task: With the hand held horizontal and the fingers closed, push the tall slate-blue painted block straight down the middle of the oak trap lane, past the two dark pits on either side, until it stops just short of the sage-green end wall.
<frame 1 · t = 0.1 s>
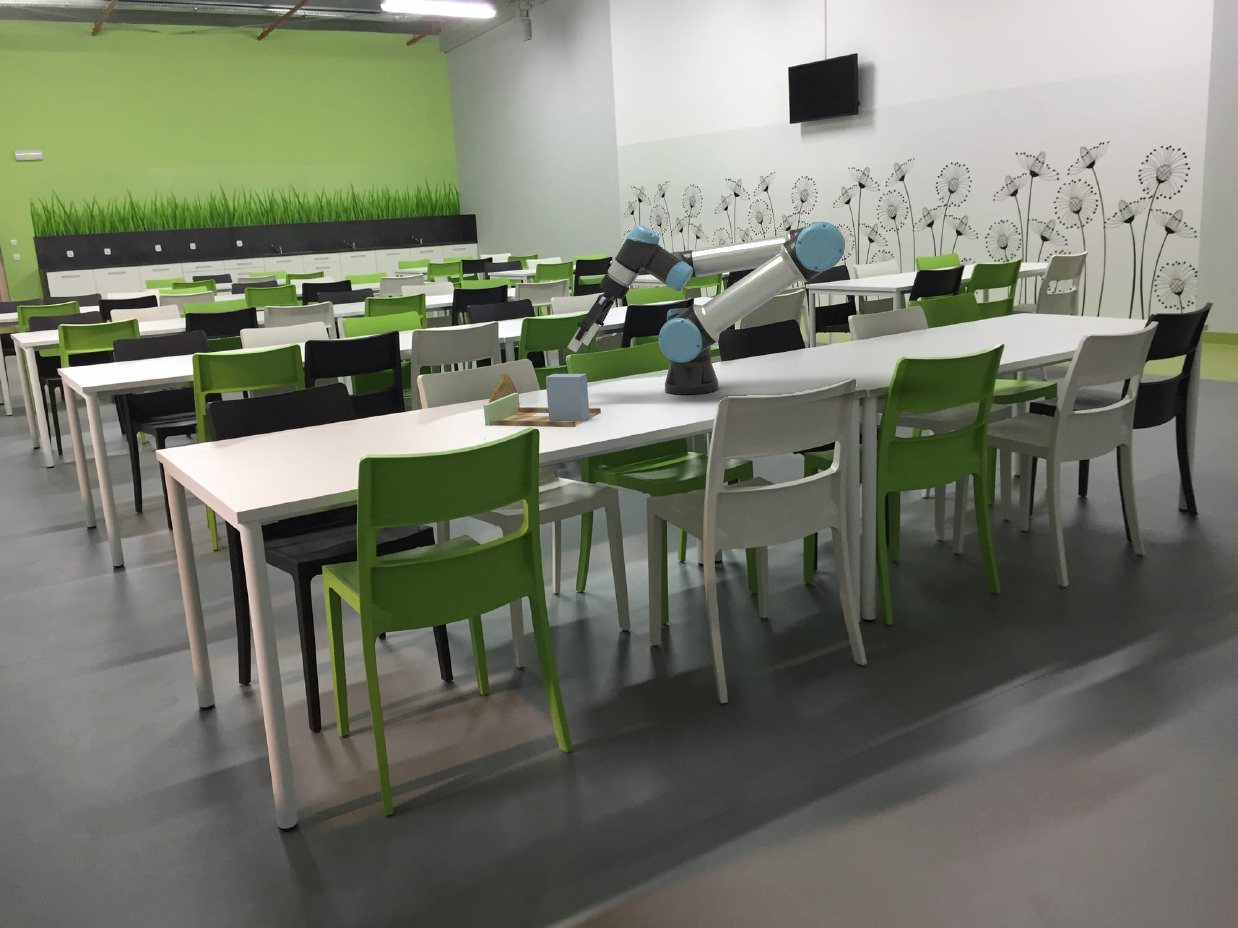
hand: (577, 346, 271), 15 cm above the table, tool tilted 35°, fingers open, 13 cm apart
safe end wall: (503, 422, 254), on the table
rock: (504, 412, 269), on the table
block: (569, 419, 247), point 1 cm above the table, touching trap lane
trap lane: (551, 422, 249), on the table
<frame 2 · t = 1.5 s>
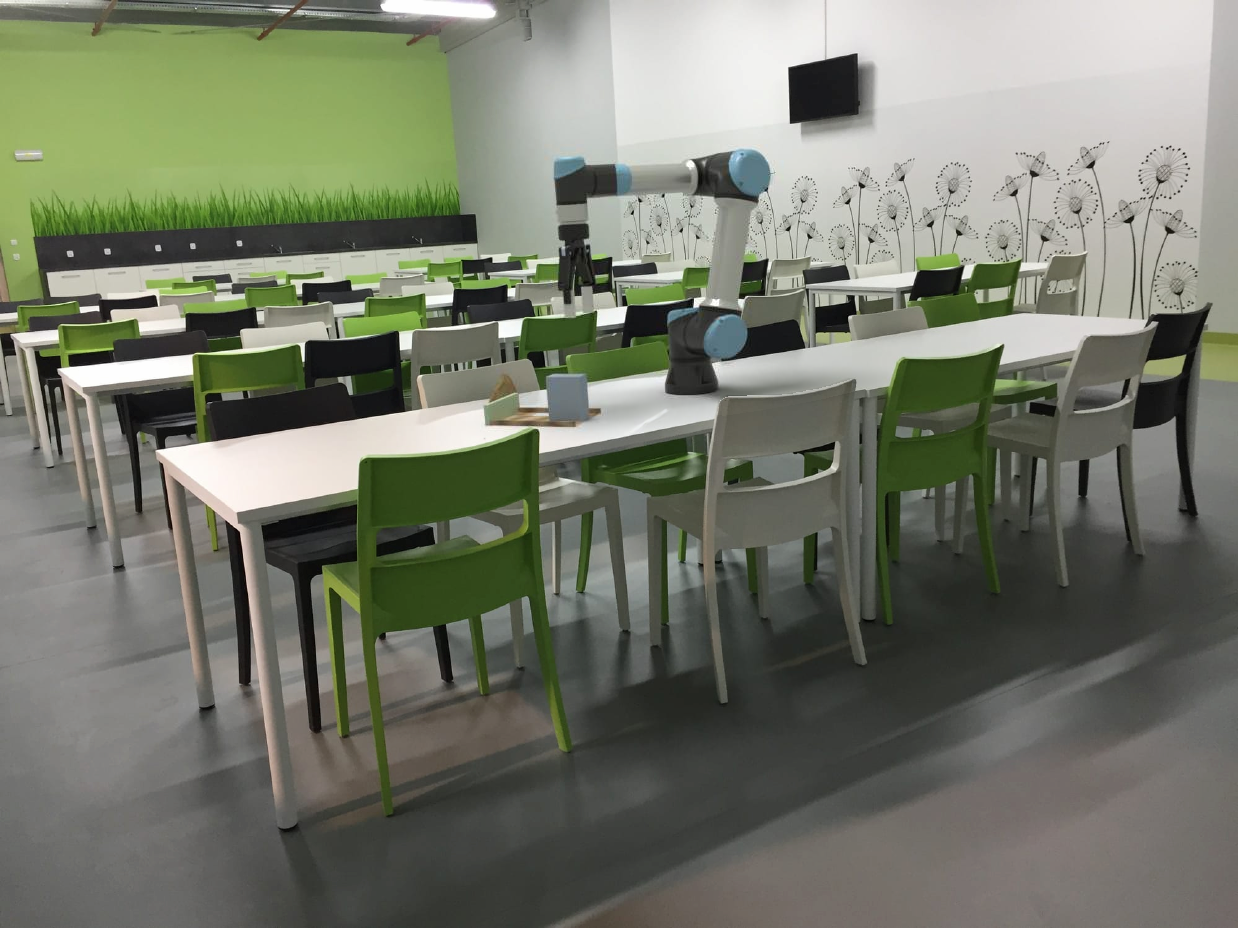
hand: (579, 315, 246), 26 cm above the table, tool pointing down, fingers open, 10 cm apart
nothing on the table moved.
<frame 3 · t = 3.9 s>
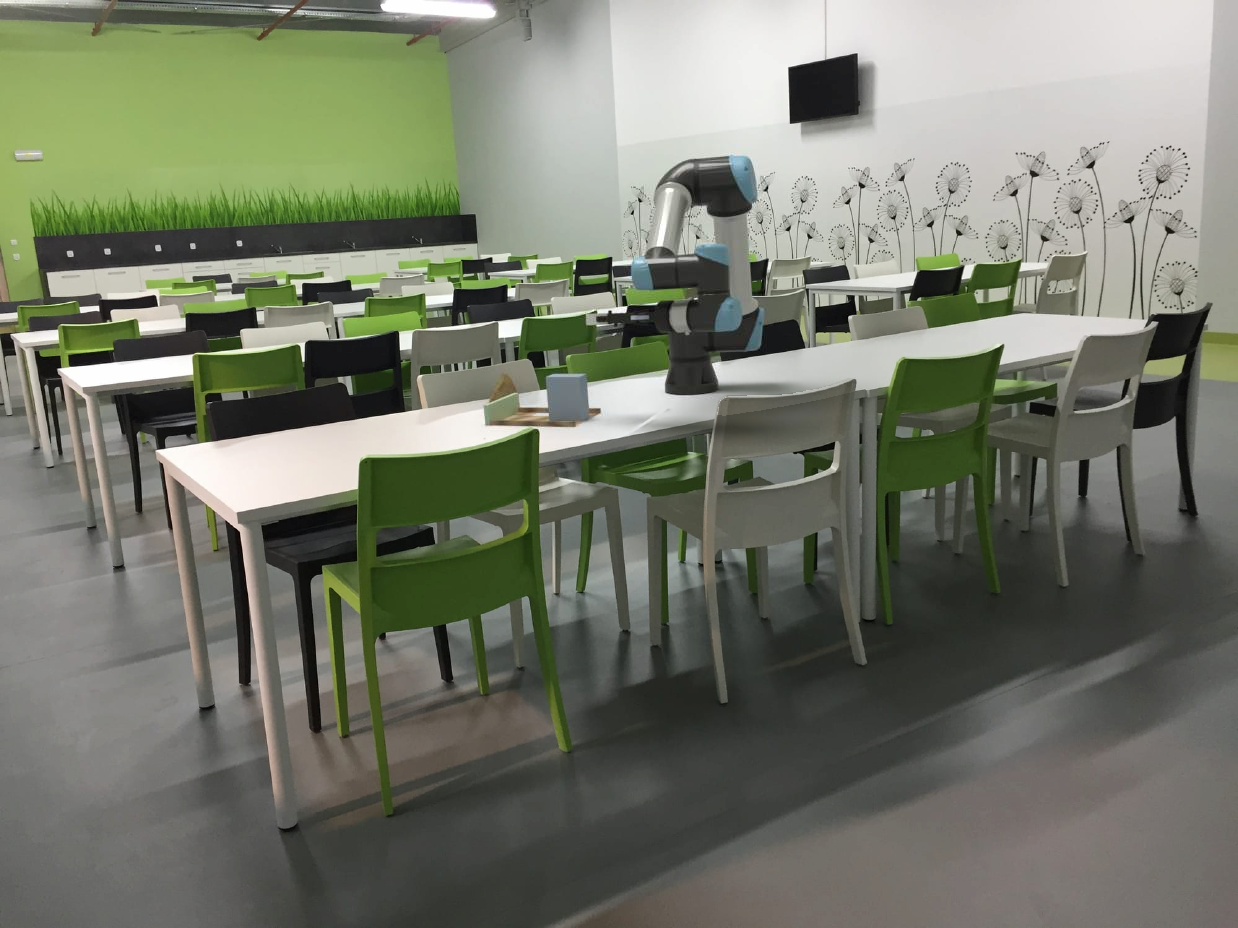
hand: (587, 319, 241), 25 cm above the table, tool horizontal, fingers closed
nothing on the table moved.
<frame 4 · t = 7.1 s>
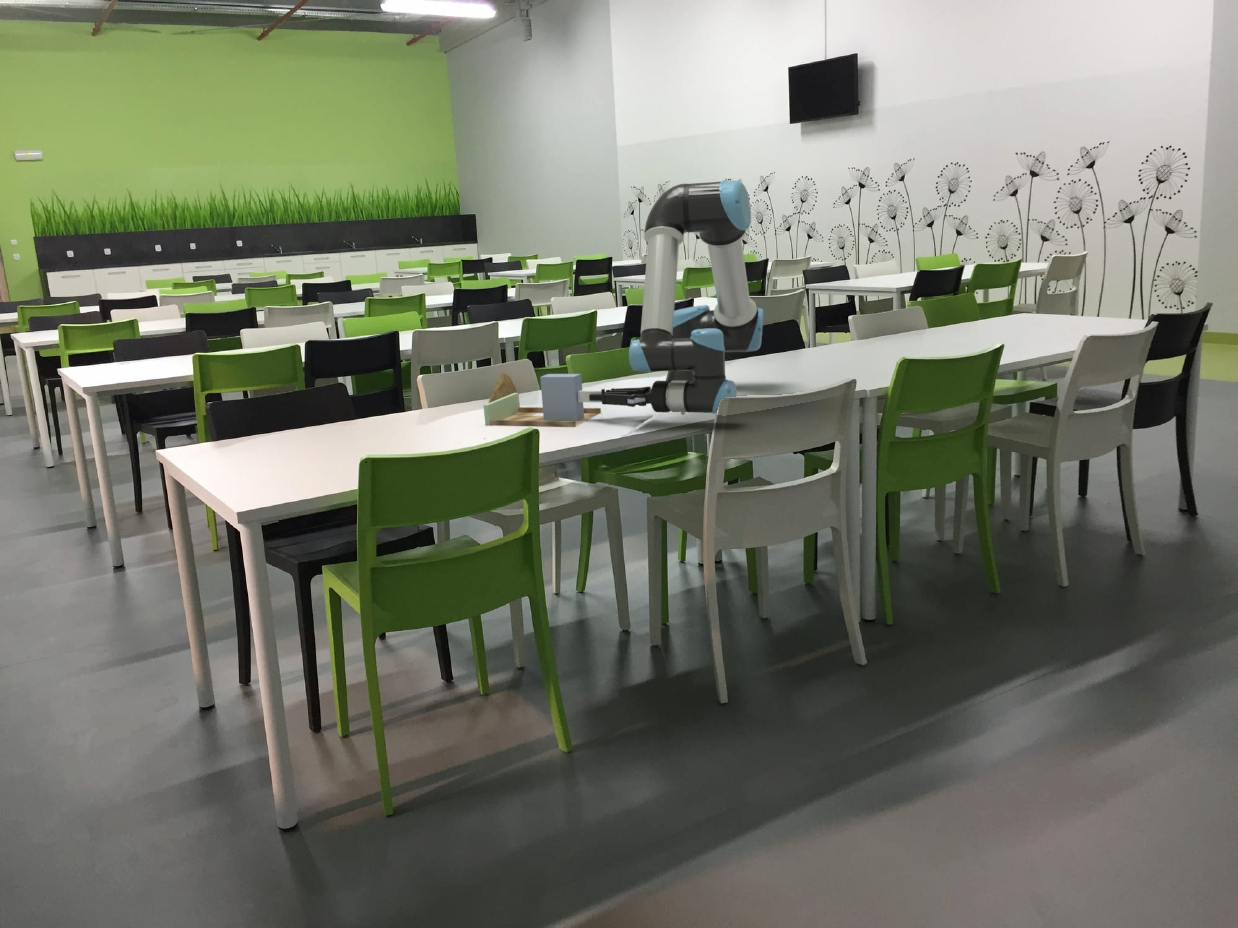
hand: (579, 396, 244), 7 cm above the table, tool horizontal, fingers closed
block: (564, 419, 248), point 1 cm above the table, touching gripper
everything else where it was.
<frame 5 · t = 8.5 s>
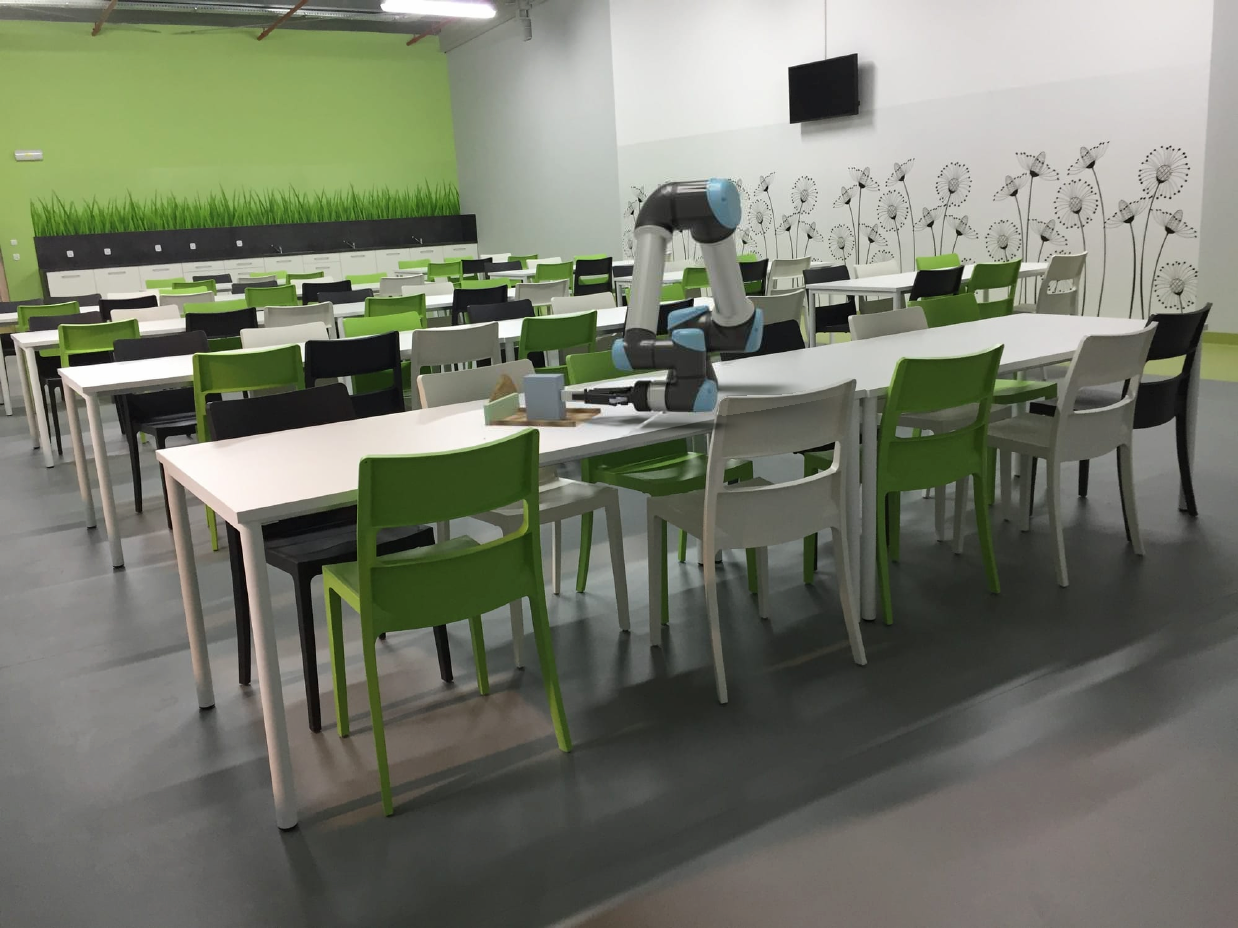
hand: (562, 395, 246), 7 cm above the table, tool horizontal, fingers closed
block: (546, 419, 249), point 1 cm above the table, touching trap lane
everything else where it was.
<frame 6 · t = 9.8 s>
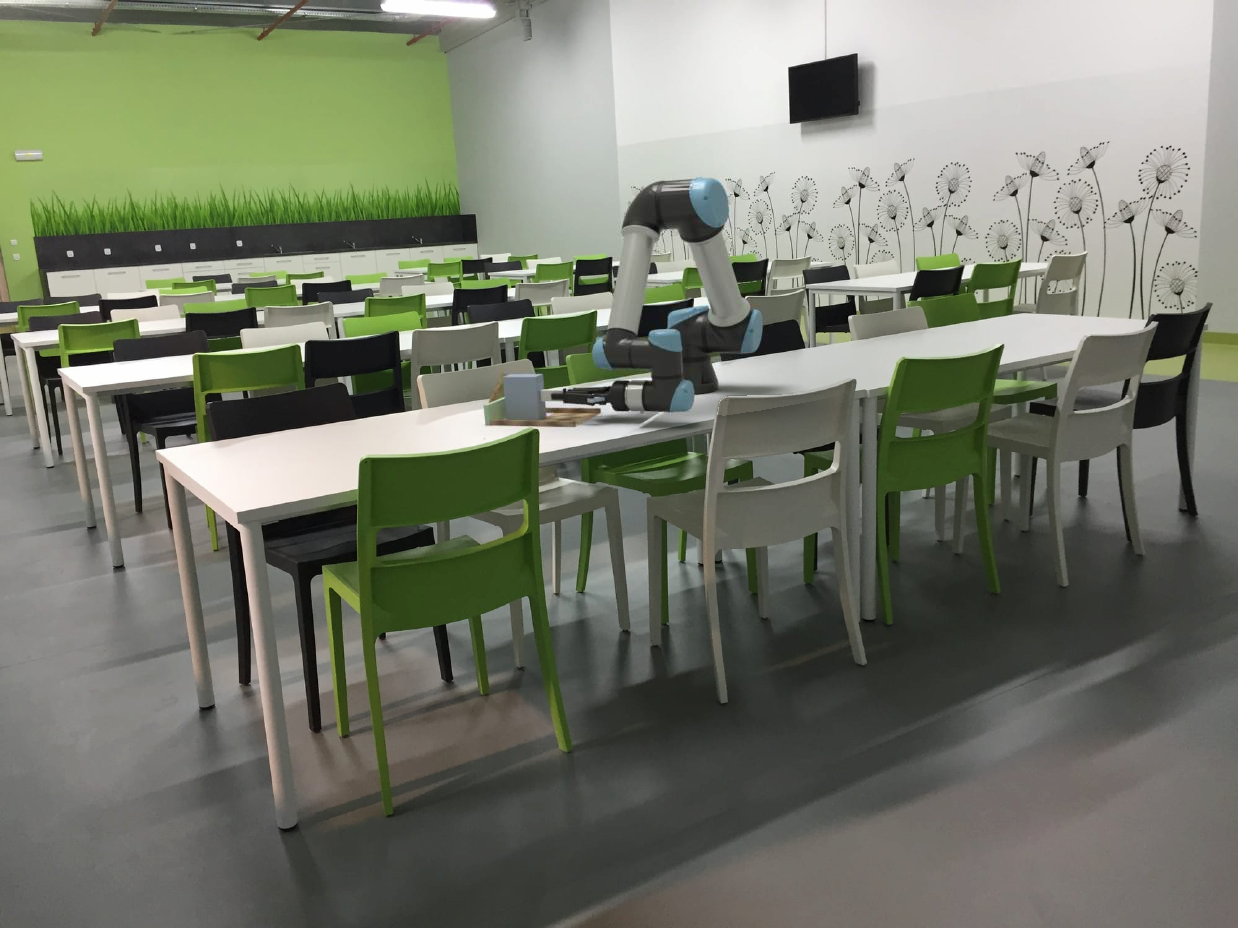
hand: (541, 395, 248), 7 cm above the table, tool horizontal, fingers closed
block: (526, 418, 251), point 1 cm above the table, touching gripper, trap lane
everything else where it was.
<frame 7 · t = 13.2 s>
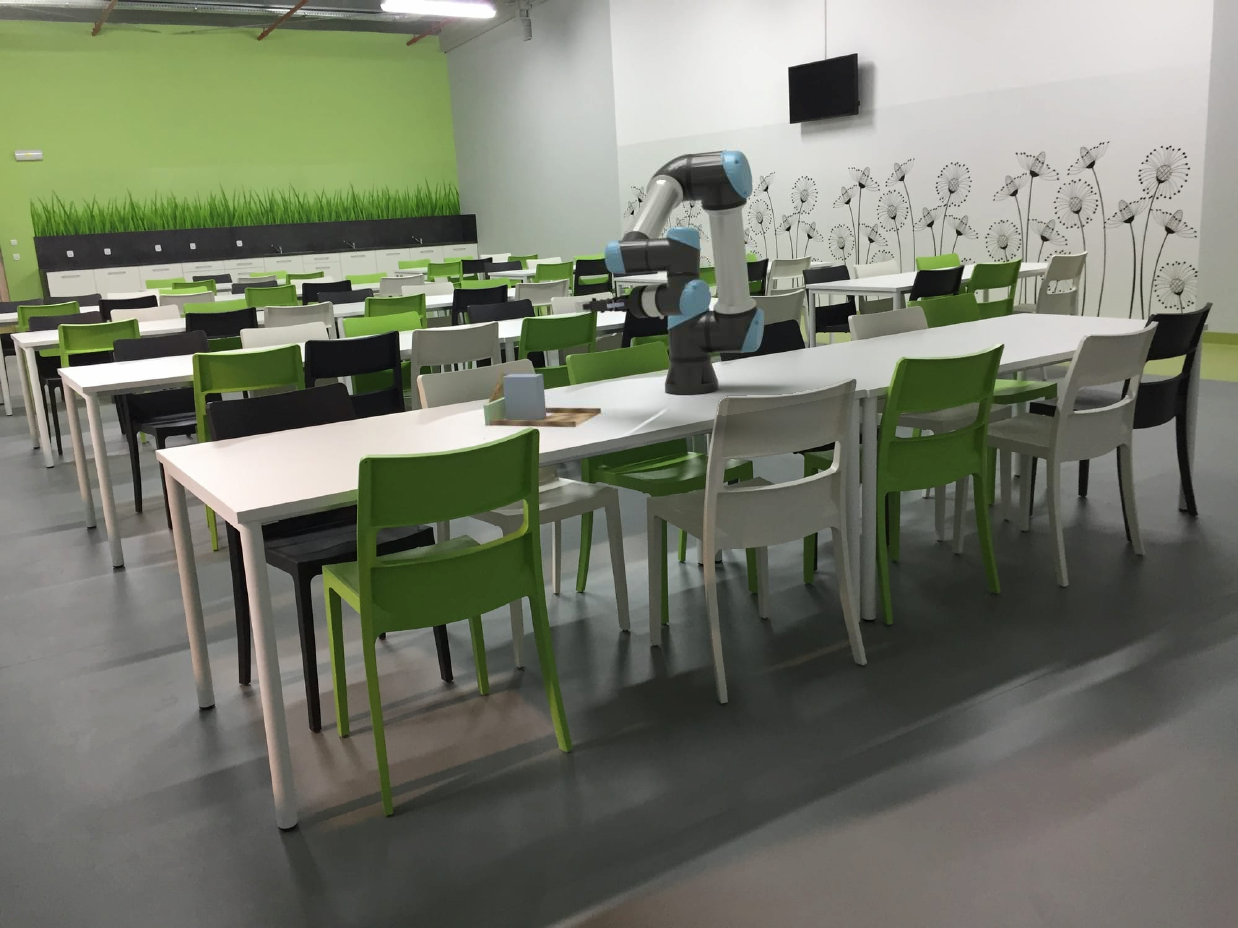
hand: (577, 307, 248), 28 cm above the table, tool horizontal, fingers closed
block: (526, 418, 252), point 1 cm above the table, touching trap lane
everything else where it was.
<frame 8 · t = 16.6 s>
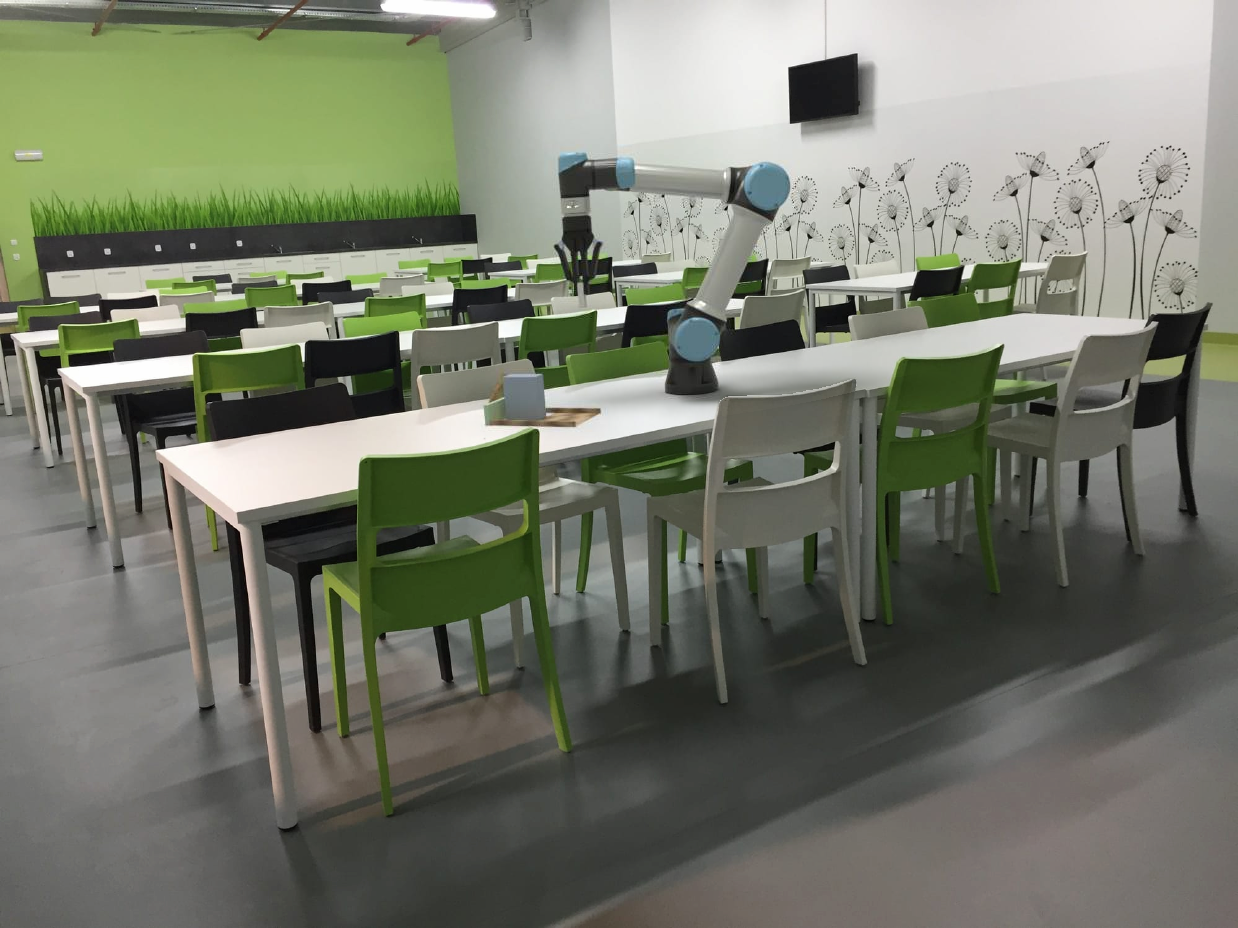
hand: (582, 307, 262), 26 cm above the table, tool pointing down, fingers closed
nothing on the table moved.
at the end: block 6.7 cm from the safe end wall (horizontally); block inside the target area (0.3 cm from its centre), point 1.0 cm above the table; block tilted 0° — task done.
